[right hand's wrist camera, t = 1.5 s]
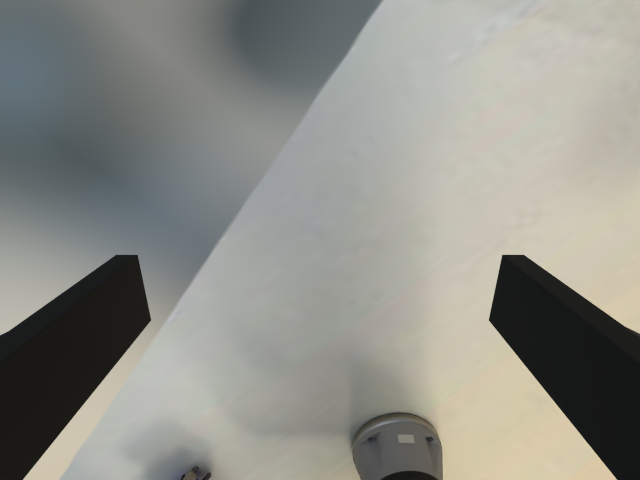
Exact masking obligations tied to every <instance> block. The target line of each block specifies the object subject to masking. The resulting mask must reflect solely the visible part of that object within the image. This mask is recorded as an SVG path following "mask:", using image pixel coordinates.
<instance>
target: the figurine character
mask: <svg viewBox="0 0 640 480" xmlns="http://www.w3.org/2000/svg"><path fill="white" fill-rule="evenodd" d="M197 469H198V466H196V467H194V468H193V469H192V470H191V471H189V472H188V473H187V474H186V475H185V474H184V475H183V476H182V478H181V480H198V479H196V477H197V474H195V473H194V472H195V471H196V470H197ZM210 477H211V473H208V474H207V475H206V476H205V477H204V478H203V479H202V480H208V479H209V478H210Z"/></svg>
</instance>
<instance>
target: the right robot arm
mask: <svg viewBox="0 0 640 480" xmlns="http://www.w3.org/2000/svg"><path fill="white" fill-rule="evenodd" d="M150 321H151V317H150V313H149V308H148V303H147V298H146V293H145V289H144V284H143V279H142V274H141V269H140V265H139V260H138V255H115V256H114V257H113V258H111V259H110V260H109V261H107V262H106V263H104V264H103V265H101V266H100V267H99V268H97V269H96V270H94V271H93V272H92V273H90V274H89V275H87V276H86V277H85V278H83V279H82V280H80V281H79V282H77V283H76V284H75V285H73V286H72V287H70V288H69V289H68V290H66V291H65V292H63V293H62V294H61V295H59V296H58V297H56V298H55V299H54V300H52V301H51V302H49V303H48V304H46V305H45V306H44V307H42V308H41V309H39V310H38V311H37V312H35V313H34V314H32V315H31V316H30V317H28V318H27V319H25V320H24V321H23V322H21V323H20V324H18V325H17V326H15V327H14V328H13V329H11V330H10V331H8V332H6V333H4V334H2V335H0V480H23V479H24V477H25V476H26V475H27V474H28V472H29V471H30V470H31V469H32V467H33V466H34V465H35V464H36V463H37V461H38V460H39V459H40V458H41V456H42V455H43V454H44V453H45V451H46V450H47V449H48V448H49V446H50V445H51V444H52V443H53V441H54V440H55V439H56V438H57V436H58V435H59V434H60V433H61V431H62V430H63V429H64V428H65V426H66V425H67V424H68V423H69V422H70V420H71V419H72V418H73V417H74V415H75V414H76V413H77V411H78V410H79V409H80V408H81V407H82V405H83V404H84V403H85V402H86V400H87V399H88V398H89V397H90V395H91V394H92V393H93V392H94V390H95V389H96V388H97V387H98V385H99V384H100V383H101V382H102V380H103V379H104V378H105V377H106V375H107V374H108V373H109V372H110V371H111V369H112V368H113V367H114V366H115V364H116V363H117V362H118V361H119V359H120V358H121V357H122V356H123V354H124V353H125V352H126V351H127V349H128V348H129V347H130V346H131V344H132V343H133V342H134V341H135V340H136V338H137V337H138V336H139V335H140V333H141V332H142V331H143V330H144V328H145V327H146V326H147V324H148V323H149V322H150ZM489 321H490V322H491V323H492V325H493V326H494V327H495V328H496V330H497V331H498V332H499V333H500V335H501V336H502V337H503V338H504V340H505V341H506V342H507V343H508V345H509V346H510V347H511V348H512V349H513V351H514V352H515V353H516V354H517V356H518V357H519V358H520V359H521V361H522V362H523V363H524V364H525V366H526V367H527V368H528V369H529V371H530V372H531V373H532V374H533V376H534V377H535V378H536V379H537V381H538V382H539V383H540V384H541V385H542V387H543V388H544V389H545V390H546V392H547V393H548V394H549V395H550V397H551V398H552V399H553V400H554V402H555V403H556V404H557V405H558V407H559V408H560V409H561V410H562V412H563V413H564V414H565V415H566V417H567V418H568V419H569V420H570V422H571V423H572V424H573V425H574V426H575V428H576V429H577V430H578V431H579V433H580V434H581V435H582V436H583V438H584V439H585V440H586V441H587V443H588V444H589V445H590V446H591V448H592V449H593V450H594V451H595V453H596V454H597V455H598V456H599V458H600V459H601V460H602V461H603V463H604V464H605V465H606V466H607V467H608V469H609V470H610V471H611V472H612V474H613V475H614V476H615V477H616V479H617V480H640V334H639V333H637V332H635V331H633V330H631V329H629V328H626V327H625V326H623V325H622V324H620V323H619V322H617V321H616V320H615V319H613V318H612V317H610V316H609V315H608V314H606V313H605V312H603V311H602V310H601V309H599V308H598V307H596V306H595V305H594V304H592V303H591V302H589V301H588V300H586V299H585V298H584V297H582V296H581V295H579V294H578V293H577V292H575V291H574V290H572V289H571V288H570V287H568V286H567V285H565V284H564V283H563V282H561V281H560V280H558V279H557V278H556V277H554V276H553V275H551V274H550V273H548V272H547V271H546V270H544V269H543V268H541V267H540V266H539V265H537V264H536V263H534V262H533V261H532V260H530V259H529V258H527V257H526V256H525V255H502V260H501V265H500V269H499V274H498V279H497V284H496V289H495V293H494V298H493V303H492V308H491V313H490V317H489ZM352 451H353V460H354V464H355V466H356V469H357V471H358V473H359V476H360V478H361V480H443V465H442V446H441V443H440V440H439V437H438V434H437V432H436V430H435V429H434V427H433V426H432V425H431V424H430V423H428V422H427V421H425V420H424V419H422V418H420V417H417V416H414V415H410V414H388V415H384V416H380V417H377V418H375V419H373V420H371V421H369V422H368V423H366V424H365V425H364V426H362V427H361V428H360V429H359V431H358V432H357V433H356V435H355V437H354V439H353V443H352Z"/></svg>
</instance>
